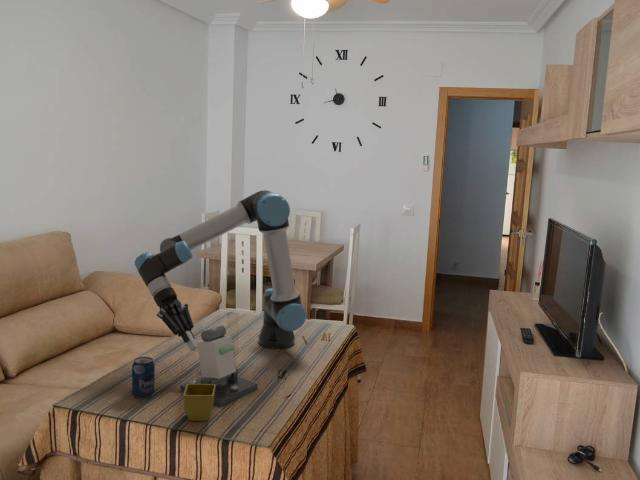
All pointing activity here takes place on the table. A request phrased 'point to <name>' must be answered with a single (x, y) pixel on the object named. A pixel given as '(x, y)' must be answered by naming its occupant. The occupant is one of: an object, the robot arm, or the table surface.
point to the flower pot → (199, 401)
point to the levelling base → (226, 388)
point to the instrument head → (216, 354)
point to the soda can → (143, 377)
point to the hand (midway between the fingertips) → (194, 348)
